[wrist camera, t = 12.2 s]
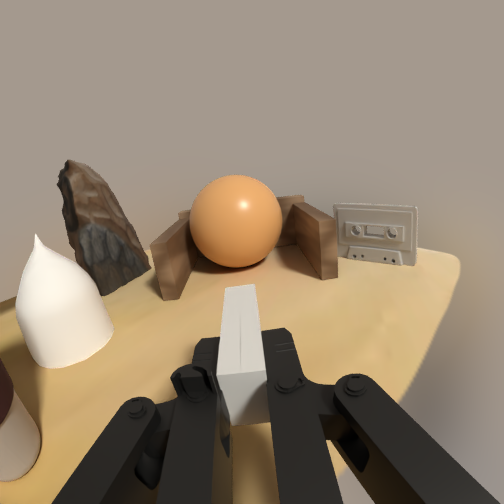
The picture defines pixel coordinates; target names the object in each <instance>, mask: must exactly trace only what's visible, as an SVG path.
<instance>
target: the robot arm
mask: <svg viewBox="0 0 504 504" xmlns="http://www.w3.org/2000/svg"><path fill="white" fill-rule="evenodd" d="M170 379H171V381H172V383H173V386H174V388H175V390H176V393H177V395H178V397H177V398H175V399H174V400H171V401H168V402H164V403H160V404H154V402H153V401H152V400H151V399H149V398H146V397H135V398H131V399H130V400H128V401H126V402H125V403H124V404H123V405H122V406H121V407H120V408H119V410H118V411H117V412H116V414H115V415H114V417H113V418H112V419H111V421H110V422H109V423H108V425H107V426H106V428H105V429H104V430H103V432H102V433H101V434H100V436H99V437H98V439H97V440H96V441H95V443H94V444H93V446H92V447H91V448H90V450H89V451H88V453H87V454H86V455H85V457H84V458H83V460H82V461H81V462H80V464H79V465H78V467H77V468H76V469H75V471H74V472H73V474H72V475H71V476H70V478H69V479H68V481H67V482H66V484H65V485H64V486H63V488H62V489H61V491H60V492H59V494H58V495H57V496H56V498H55V499H54V501H53V502H52V504H233V501H232V435H231V431H230V421H231V424H232V426H238V425H249V424H259V423H267V422H271V431H272V439H273V448H274V456H275V465H276V473H277V481H278V490H279V498H280V504H343V501H342V497H341V493H340V490H339V486H338V482H337V479H336V475H335V471H334V468H333V464H332V461H331V457H330V454H329V450H328V447H327V443H326V440H331V442H332V443H333V445H334V446H335V448H336V449H337V451H338V452H339V454H340V455H341V456H342V458H343V459H344V461H345V462H346V464H347V465H348V467H349V468H350V469H351V471H352V472H353V473H354V475H355V476H356V478H357V479H358V481H359V482H360V483H361V485H362V486H363V488H364V489H365V490H366V492H367V493H368V494H369V495H370V497H371V499H372V500H373V501H374V503H375V504H500V503H499V502H498V501H497V500H496V499H495V498H494V497H493V496H492V495H491V494H490V493H489V492H488V491H487V490H485V489H484V488H483V487H482V486H481V485H480V484H479V483H478V482H477V481H476V480H475V479H474V478H473V477H472V476H471V475H470V474H469V473H468V472H467V471H466V470H465V469H464V468H463V467H462V466H461V465H460V464H459V463H458V462H457V461H455V460H454V459H453V458H452V457H451V456H450V455H449V454H448V453H447V452H446V451H445V450H444V449H443V448H442V447H441V446H440V445H439V444H438V443H437V442H436V441H435V440H434V439H433V438H432V437H431V436H430V435H429V434H428V433H427V432H426V431H425V430H424V429H423V428H422V427H421V426H420V425H419V424H418V423H416V422H415V421H414V420H413V419H412V418H411V417H410V416H409V415H408V414H407V413H406V412H405V411H404V410H403V409H402V408H401V407H400V406H399V405H398V404H397V403H396V402H395V401H394V400H393V399H392V398H391V397H390V396H389V395H388V394H387V393H386V392H385V391H384V390H383V389H382V388H381V387H380V386H379V385H378V384H377V383H376V382H375V381H374V380H373V379H371V378H370V377H368V376H366V375H363V374H349V375H346V376H343V377H342V378H340V379H339V380H338V381H337V382H336V384H335V385H324V384H317V383H314V382H312V381H310V380H308V379H307V378H306V377H305V376H304V374H303V372H302V368H301V365H300V361H299V358H298V355H297V351H296V348H295V345H294V341H293V338H292V334H291V333H290V332H289V331H288V330H286V329H285V328H279V329H272V330H265V331H261V326H260V319H259V311H258V304H257V297H256V290H255V284H250V285H243V286H235V287H227V288H225V296H224V305H223V315H222V324H221V333H220V337H213V338H202V339H201V340H200V341H199V342H198V344H197V345H196V346H195V350H194V355H193V359H192V364H188V365H184V366H182V367H180V368H178V369H177V370H176V371H174V372H173V374H172V375H171V377H170Z"/></svg>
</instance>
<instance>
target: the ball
mask: <svg viewBox="0 0 504 504" xmlns="http://www.w3.org/2000/svg"><path fill="white" fill-rule="evenodd" d="M281 229H282V213H281V208H280V205H279V203H278V201H277V199H276V197H275V195H274V194H273V193H272V191H271V190H270V189H269V188H268V187H267V186H266V185H264V184H263V183H261V182H260V181H258V180H256V179H254V178H252V177H248V176H244V175H228V176H224V177H221V178H218V179H216V180H214V181H212V182H211V183H209V184H208V185H206V186H205V187H204V188H203V189H202V190H201V192H200V193H199V194H198V195H197V197H196V199H195V200H194V203H193V205H192V208H191V211H190V231H191V235H192V238H193V240H194V242H195V244H196V246H197V247H198V249H199V250H200V251H201V252H202V253H203V254H204V255H205V256H206V257H207V258H208V259H210V260H211V261H213V262H215V263H217V264H219V265H223V266H226V267H245V266H249V265H252V264H255V263H257V262H259V261H260V260H262V259H263V258H265V257H266V256H267V255H268V254H269V253H270V252H271V251H272V250H273V248H274V247H275V245H276V243H277V241H278V239H279V237H280V234H281Z"/></svg>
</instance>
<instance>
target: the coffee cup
mask: <svg viewBox="0 0 504 504" xmlns="http://www.w3.org/2000/svg"><path fill="white" fill-rule="evenodd" d="M39 450H40V434H39V430H38V427H37V425H36V423H35V422H34V420H33V419H32V417H31V416H30V414H29V413H28V411H27V410H26V408H25V407H24V405H23V403H22V402H21V400H20V399H19V397H18V395H17V394H16V392H15V390H14V387H13V383H12V380H11V378H10V376H9V374H8V372H7V371H6V369H5V367H4V365H3V363H2V361H1V358H0V481H2V482H9V481H14V480H16V479H19V478H20V477H22V476H23V475H25V474H26V473H27V472H28V471H29V470H30V469H31V468H32V466H33V465H34V463H35V461H36V459H37V456H38V454H39Z"/></svg>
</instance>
